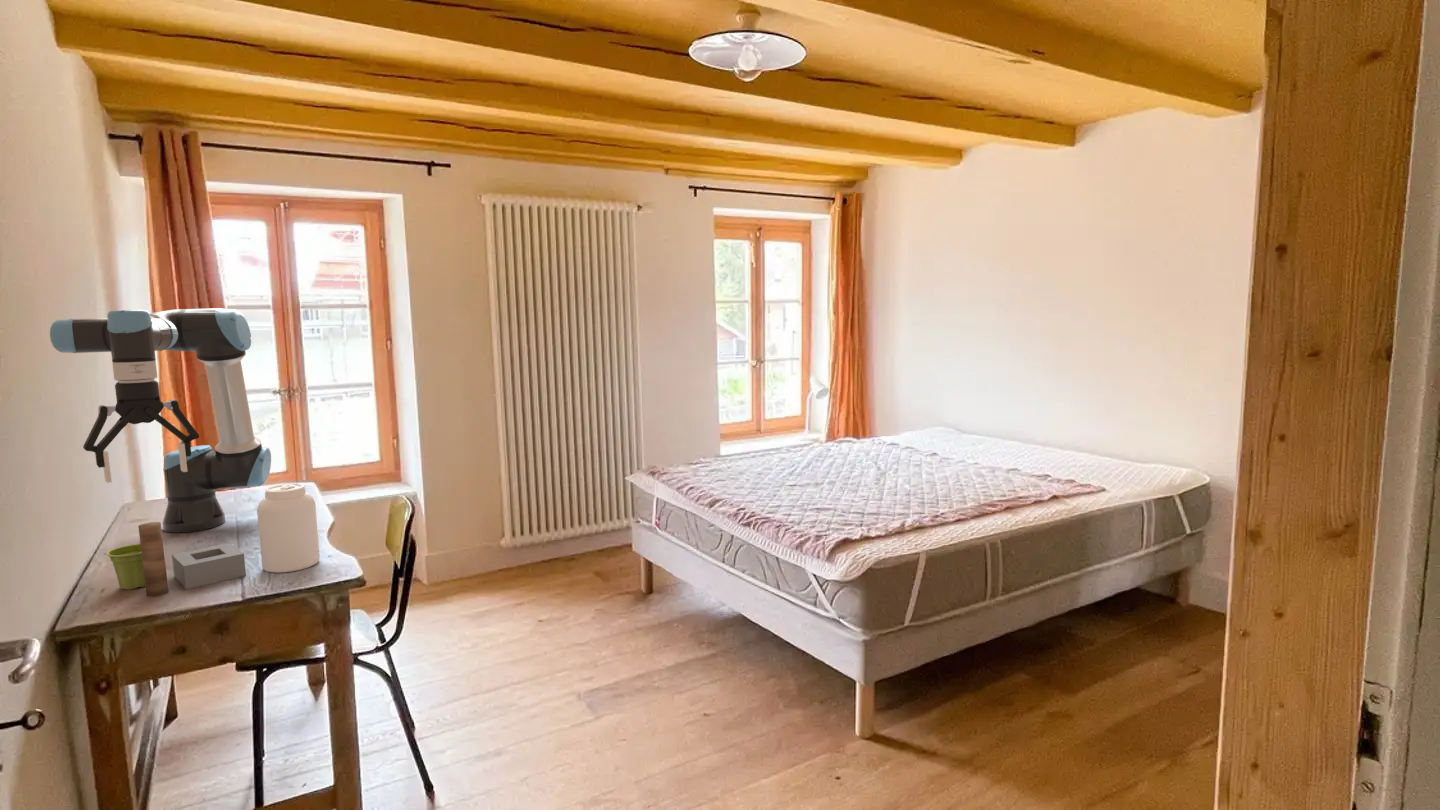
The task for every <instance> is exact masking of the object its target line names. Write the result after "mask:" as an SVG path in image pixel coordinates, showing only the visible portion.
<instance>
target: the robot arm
mask: <svg viewBox="0 0 1440 810" xmlns="http://www.w3.org/2000/svg"><path fill="white" fill-rule="evenodd" d="M251 334H252V333H251V329H250V326H249V323H248V321H247V319H246V317H245V316H244V314H243V313H242V312H241V311H239V310H237V309H234V308H221V307H219V308H218V307H216V308H175V309H168V310H161V311H160V310H159V311H156V312H155V311H154V312H149V310H147V309H113V310H112V309H111V310H110V311H108V313H107V317H105V318H103V317H102V318H100V317H99V318H67V319H65V318H64V319H56V320H55V321H54V322H53V323H52V324H51V325H50V329H49V337H50V338H49V339H50V342H51V344H52V346H53V348H54V349H55V350H56V351H58V352H60V353H66V354H68V353H69V354H70V353H71V354H79V353H81V354H83V353H84V354H85V353H111V363H112V372H113V379H114V380H115V381H116V383H115V384H114V389H115V390H114V391H115V396H116V397H115V398H116V399H115V400H116V404H115V406H114V405H112V406H110V405H107V406H106V405H102V404H101V405H99V406H98V413H97V415H98V416H97V418H96V420H95V422H94V424H93V426H92V428H91V430H90V432H89V434H88V436H87V438H86V440H85V442H84V443H83V446H82V448H83V449H84V450H85V451H87V452H92V453H94V456H95V462H96V466H97V467H98V468H103V473H104V481H105V483H108V484H109V483H112V476H111V475H112V473H111V466H110V458H109V452H108V451H107V450H106V449H107V447H109V445H110V444H111V443H112V442H113V440H114V439H115V438H116V437H117V436H118V434H120V432H121V431H122V430H123V429H124V428H125V427H126V426H127V425H128V424H131V425H138V424H141V423H142V424H149V423H150V424H151V423H153V421H156V422H157V423H159V424H160V425H161V426H163V427H164V428H165V429H166V430H168V431H169V432H170V433H172V434H173V435H174V436H176V437H177V438H178V439H179V440H181V441H179V442H177V445H178V448H177V449H176V450H173V451H170V452H168V453H167V454H165V456H164V457H163V472H164V479H165V481H164V482H165V489H166V495H167V496H166V497H167V507H166V510H165V513H164V516H163V519H162V529H163V530H162V531H163V532H167V533H189V532H196V531H197V532H198V531H202V530H206V529H207V530H208V529H212V528H215V527H217V526H220V525H223V524H225V522H226V515H225V512H224V510H223V508H222V506H221V505H220V503H219V501H218V499H217V495H216V490H226V489H229V490H230V489H245V488H247V489H249V488H254V487H261V486H263V485H265V484H266V482H267V480H268V478H269V476H270V471H271V466H272V453H271V450H270V448H269V447H267V446H262V441H261V439H260V438H258V437H256V436H255V435H254V429H253V424H252V419H251V418H252V417H251V411H250V406H249V401H248V395H247V389H246V384H245V377H244V372H243V367H242V366H243V365H242V362H241V361H242V360H243V358H244V357H245V356H246V354H247V353H246V351H248V350H249V349H250V348H251V344H252V339H251V337H252V335H251ZM157 351H158V352H161V351H171V352H195V355H196V359H197V360H198V361H199V362H201V363H202V364H204V365H205V366H204V367H205V371H206V377H207V382H208V387H209V392H210V397H211V402H212V407H213V412H214V417H215V424H216V427H217V428H216V429H217V434H218V438H219V439H218V440H219V442H218V443H217V444H216V445H215V446H214V450H213V447H212V446H211V445H209V444H207V445H206V444H203V445H202V444H201V445H195V446H191V442H192V441H194V440H196V439H199V438H200V434H199V433H198V432H197V430H196V429H195V428H194V427H193V425H192V424H191V422H190V421H189V420H188V418H187V416H185V415H184V413H183V411H181V409H180V406H179V402H178V400H175V399H170V400H168V401H163V402H162V401H161V396H160V387H159V382H158V381H157V380H155V379H157V378H158V370H157V369H158V368H157V362H156V353H155V352H157ZM164 408H166V410H168V411H169V412H172V414H173V415H174V416H175V417H176V419H177V420H178V421H179V423H180V425H182V427H183V428H184V429H185V431H186V432H187V433H188V434H187V435H186V434H184V432H182V431H181V430H179V429H178V428H177V427H176V426H174V425H173V424H172V423H171V422H169V420H166V419H165V418H164V417H163V416H162V415H161V414H160V413H161V412H162V410H163V409H164ZM114 412H115V413H117V414H118V416H120V417H119V419H118V420H117V421H116V423H115V424H113V426H112V427H111V429H109V430H108V432H107V433H106V434H105V435H104V437H102V438H101V440H100V441H99V442H98V443H97V444H96V442H97V440H98V437H99V435H100V434H101V432H102V430H103V428H104V426H105V424H106V421H107V418H108V417H110V416H112V414H113V413H114ZM95 444H96V445H95Z"/></svg>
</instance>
